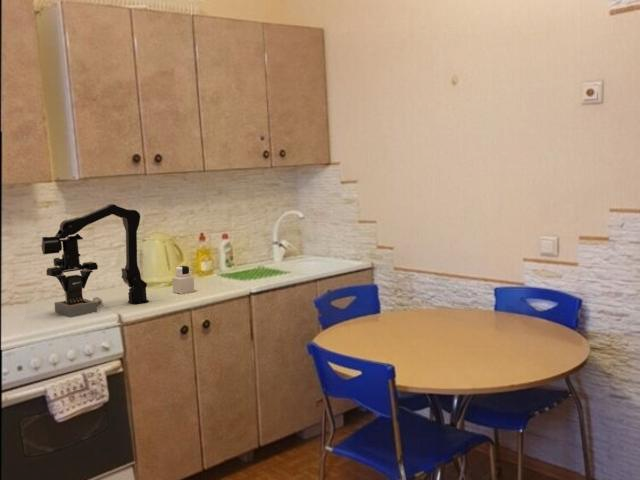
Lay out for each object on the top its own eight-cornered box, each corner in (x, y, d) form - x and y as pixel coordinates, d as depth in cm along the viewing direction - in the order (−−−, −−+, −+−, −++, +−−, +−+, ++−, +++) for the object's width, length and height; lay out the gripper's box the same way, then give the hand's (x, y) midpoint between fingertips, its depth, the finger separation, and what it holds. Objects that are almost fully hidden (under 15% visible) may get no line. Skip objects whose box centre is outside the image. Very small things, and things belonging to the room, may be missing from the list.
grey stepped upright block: (186, 290, 284) (184, 264, 283) (194, 291, 279) (193, 265, 278) (172, 292, 279) (171, 266, 278) (181, 294, 274) (179, 268, 273)
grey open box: (81, 307, 255) (80, 297, 255) (97, 311, 246) (96, 302, 245) (55, 312, 247) (54, 302, 247) (70, 317, 238) (69, 307, 237)
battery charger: (70, 305, 242) (67, 277, 241) (65, 304, 245) (62, 276, 243) (86, 302, 248) (84, 274, 246) (81, 301, 250) (78, 273, 249)
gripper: (84, 247, 256) (87, 284, 258) (39, 253, 243) (42, 291, 244) (96, 249, 248) (100, 286, 250) (50, 255, 235) (54, 295, 237)
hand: (74, 290), depth 245 cm, fingers closed on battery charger, 7 cm apart
